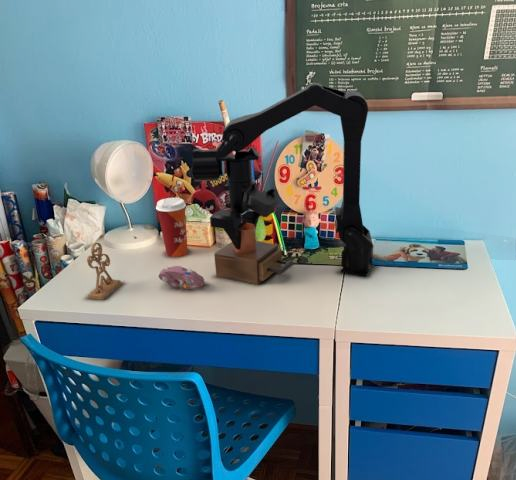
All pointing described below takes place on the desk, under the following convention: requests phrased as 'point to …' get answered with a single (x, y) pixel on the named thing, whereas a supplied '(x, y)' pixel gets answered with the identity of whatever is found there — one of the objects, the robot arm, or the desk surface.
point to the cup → (247, 239)
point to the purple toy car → (181, 277)
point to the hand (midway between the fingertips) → (244, 244)
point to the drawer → (273, 265)
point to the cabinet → (242, 262)
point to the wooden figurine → (108, 284)
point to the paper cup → (173, 225)
